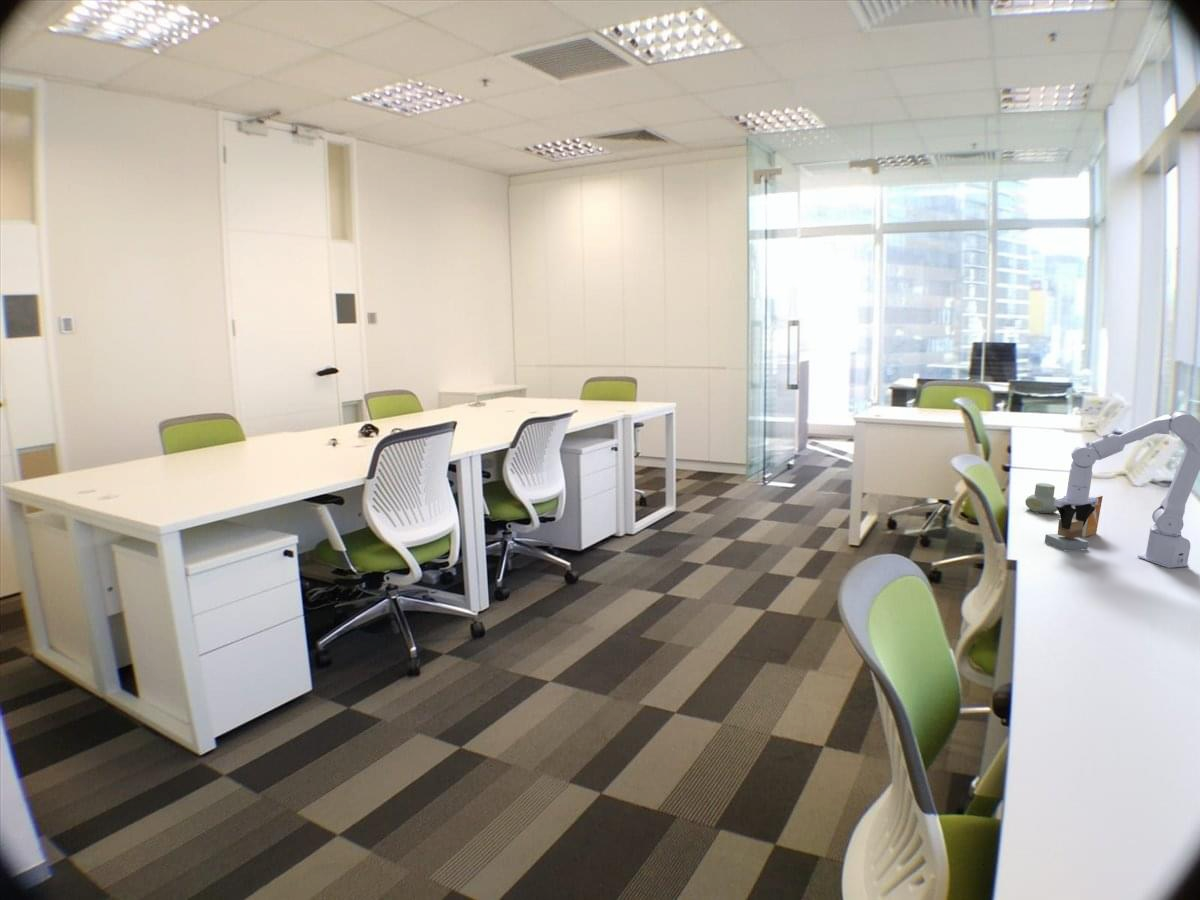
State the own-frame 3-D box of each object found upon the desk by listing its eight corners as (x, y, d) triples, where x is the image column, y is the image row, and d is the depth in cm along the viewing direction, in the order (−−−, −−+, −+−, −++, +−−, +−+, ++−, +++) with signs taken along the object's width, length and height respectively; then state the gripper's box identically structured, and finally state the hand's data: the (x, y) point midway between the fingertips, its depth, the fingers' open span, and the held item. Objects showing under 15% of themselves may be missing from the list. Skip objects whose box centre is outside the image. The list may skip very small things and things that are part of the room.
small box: (1085, 537, 235) (1091, 498, 233) (1064, 532, 241) (1070, 494, 238) (1097, 533, 240) (1103, 495, 237) (1076, 528, 245) (1082, 491, 242)
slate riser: (1087, 550, 224) (1088, 541, 223) (1064, 551, 222) (1065, 542, 222) (1066, 542, 231) (1067, 533, 231) (1044, 543, 230) (1045, 534, 230)
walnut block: (1082, 537, 224) (1083, 521, 223) (1070, 538, 223) (1071, 522, 222) (1069, 533, 228) (1070, 518, 228) (1057, 534, 227) (1059, 518, 227)
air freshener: (1063, 514, 261) (1067, 487, 259) (1047, 516, 258) (1051, 489, 256) (1035, 506, 271) (1039, 480, 269) (1020, 508, 268) (1023, 482, 266)
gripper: (1086, 481, 228) (1080, 522, 230) (1048, 483, 224) (1042, 525, 227) (1107, 486, 221) (1100, 529, 224) (1068, 488, 217) (1061, 532, 220)
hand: (1072, 528), depth 225 cm, fingers closed on walnut block, 4 cm apart
